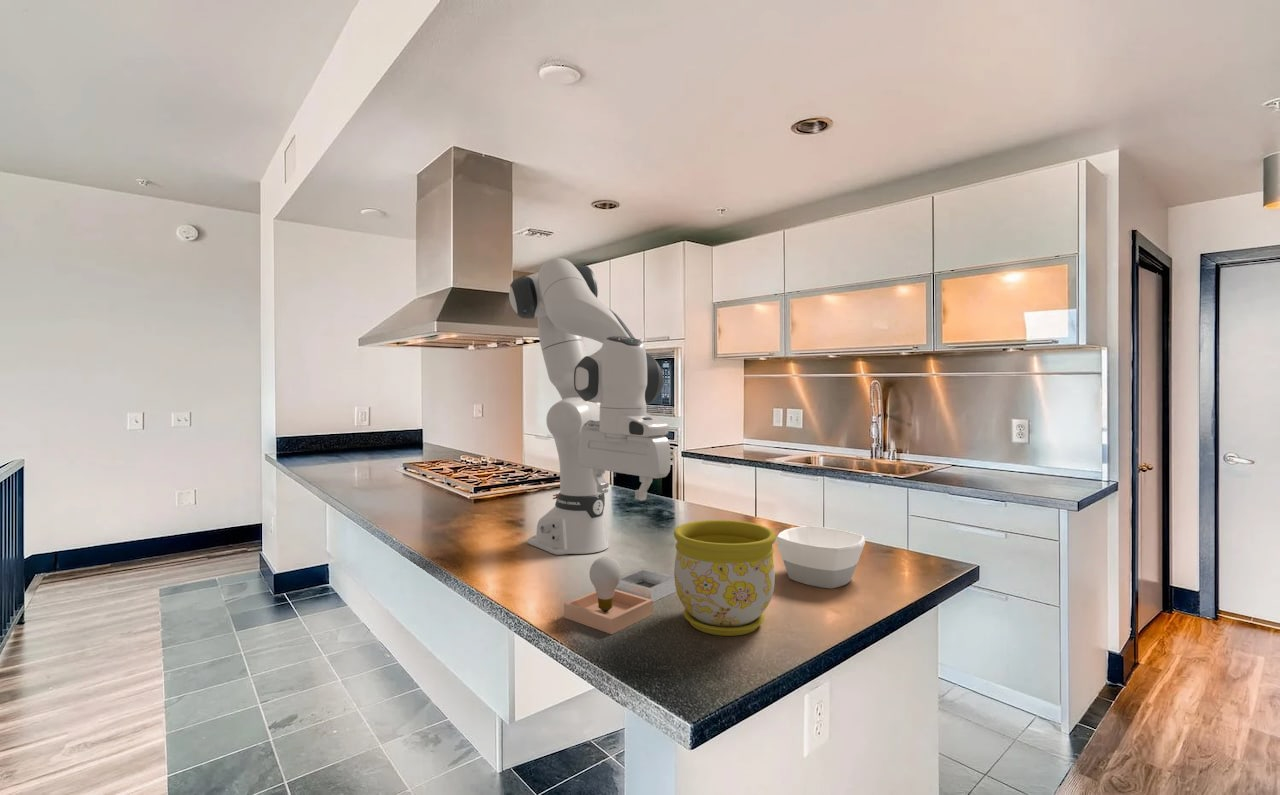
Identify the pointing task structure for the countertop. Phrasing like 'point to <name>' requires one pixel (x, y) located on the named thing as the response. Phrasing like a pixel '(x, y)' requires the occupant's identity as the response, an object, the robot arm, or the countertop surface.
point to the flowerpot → (724, 574)
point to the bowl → (820, 555)
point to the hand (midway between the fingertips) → (621, 496)
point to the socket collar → (661, 580)
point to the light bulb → (605, 580)
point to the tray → (614, 620)
